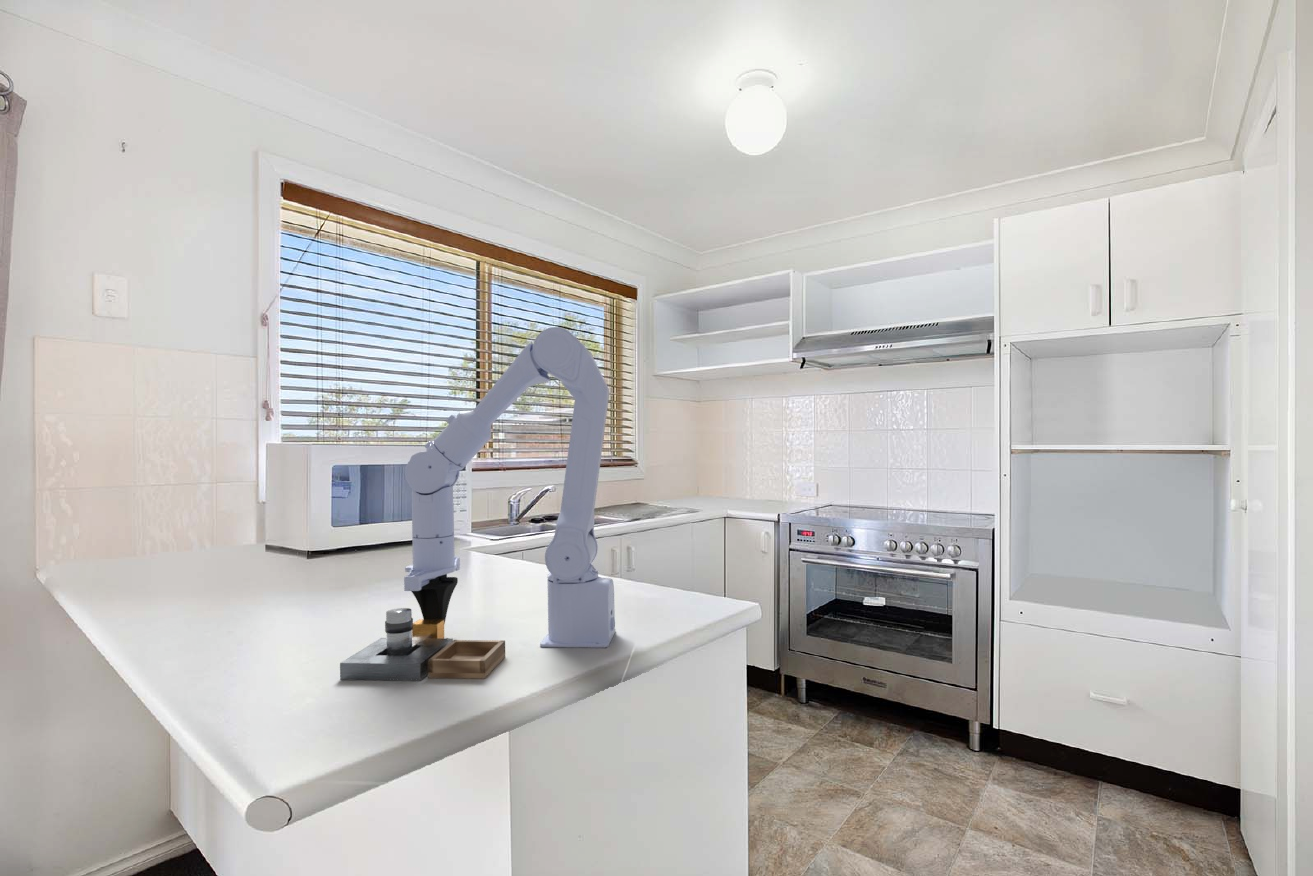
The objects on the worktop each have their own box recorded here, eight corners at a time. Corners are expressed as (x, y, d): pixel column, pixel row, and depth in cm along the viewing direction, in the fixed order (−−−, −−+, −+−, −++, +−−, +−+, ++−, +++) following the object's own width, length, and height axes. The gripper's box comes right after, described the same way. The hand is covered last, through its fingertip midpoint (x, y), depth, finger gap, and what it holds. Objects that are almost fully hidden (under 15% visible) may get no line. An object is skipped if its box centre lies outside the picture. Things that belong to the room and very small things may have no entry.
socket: (381, 652, 89) (381, 637, 89) (453, 653, 89) (452, 638, 89) (340, 679, 79) (339, 663, 79) (420, 680, 79) (420, 663, 79)
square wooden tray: (505, 656, 87) (505, 640, 87) (484, 678, 79) (484, 661, 79) (453, 656, 88) (453, 640, 88) (428, 677, 80) (427, 660, 80)
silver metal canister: (417, 661, 86) (417, 607, 86) (406, 670, 82) (405, 614, 82) (393, 661, 86) (392, 607, 86) (380, 670, 82) (379, 614, 82)
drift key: (420, 641, 94) (419, 619, 94) (444, 642, 94) (444, 619, 94) (392, 661, 86) (391, 636, 86) (419, 661, 85) (418, 637, 86)
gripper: (428, 528, 102) (429, 616, 102) (381, 543, 88) (383, 645, 88) (472, 528, 102) (473, 616, 102) (432, 543, 87) (434, 646, 87)
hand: (435, 630), depth 95 cm, fingers closed
